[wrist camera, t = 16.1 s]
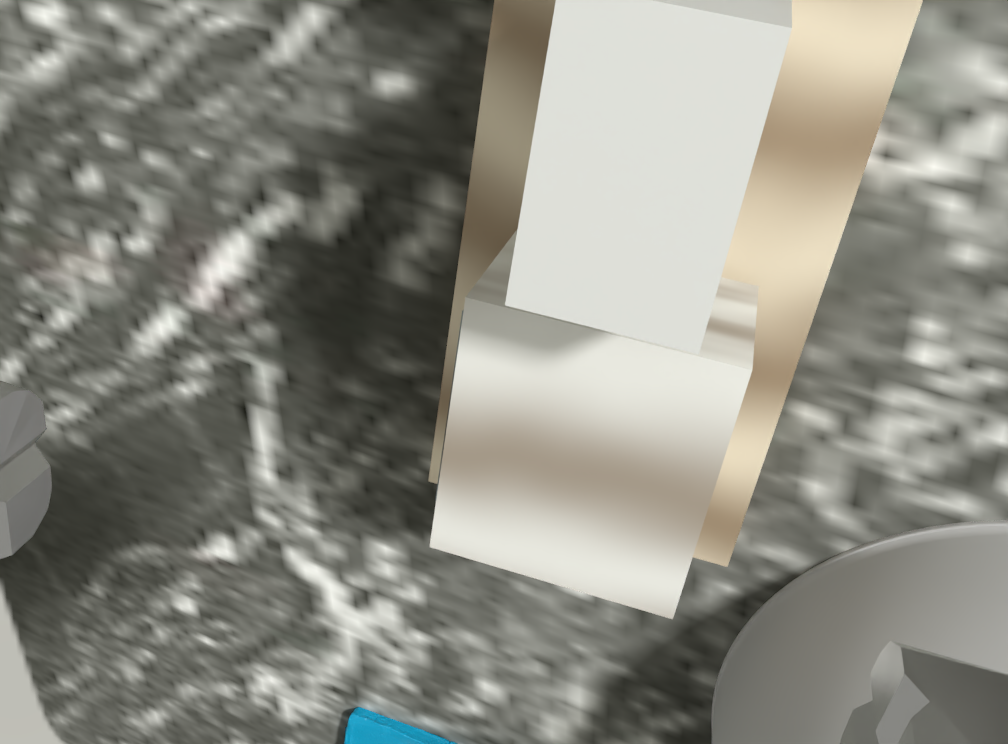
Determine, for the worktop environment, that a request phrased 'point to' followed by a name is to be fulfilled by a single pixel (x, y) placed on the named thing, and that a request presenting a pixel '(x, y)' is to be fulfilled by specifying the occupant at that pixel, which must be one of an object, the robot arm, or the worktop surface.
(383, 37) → the worktop surface
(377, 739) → the sponge
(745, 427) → the rail board
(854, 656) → the kettle
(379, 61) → the worktop surface
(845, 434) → the worktop surface
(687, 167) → the block
